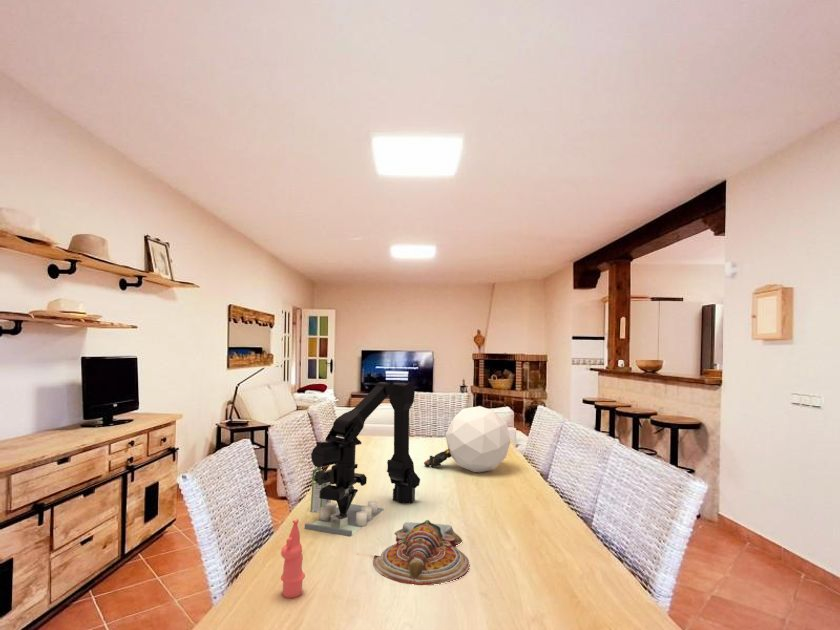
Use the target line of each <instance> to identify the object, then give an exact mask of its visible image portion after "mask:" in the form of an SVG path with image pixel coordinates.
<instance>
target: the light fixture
mask: <svg viewBox="0 0 840 630" xmlns="http://www.w3.org/2000/svg"><path fill="white" fill-rule="evenodd" d="M445 439H446V445H447V449H445V450H444V451H441V452H439V453H436V454H435V455H429V459H427V460H425V461H424V462H423V464H424V466H425V467H426V468H433V467H438V466H441V465H442V463H443V462H444V461H446V460H448V459H449V458H452V459H453V460H454V461H455V463H456V465H458V466H459V467H461V468H463V469H466V470H469V471H471V472H473V473H475V472H478V473H483V472H488V471H494V470H495V469H496V468H497V467H498V466H499V465H500V464H501V463H502V462H503V461H504V460H505V459H506V458H507V456H508V452H509V448H510V445H511V438H510V432H509V427H508V423H507V421H505V419H503V418H502V417H501V415H499V414H498V413H497V412H496V411H494V410H492V409H490V408H487V407H483V406H482V405H478V406H473V407H466V408H463V409H461V410H460V411H459V412H458V413H457V414H456V415H455V416H454V417H453V418H452V420H451V422H450V424H449V426H448V428H447V431H446V433H445Z"/></svg>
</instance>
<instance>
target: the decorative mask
mask: <svg viewBox="0 0 840 630" xmlns="http://www.w3.org/2000/svg"><path fill="white" fill-rule="evenodd" d="M393 535H395V536H396V537H395V541H396V543H394V544H392V545H390V546H388V547H386V548H385V549H384V550H382V552H381V554H380V555H374V557H373V558H372V566H373V569H374V570H375V571H376V573H378V574H379V575H380V576H382V577H384V578H386V579H389V580H391V581H394V582H397V583H401V584H404V585H412V584H414V586H423V585H427V586H435V585H434V584H439V585H442V584H441V583H445V582H450V581H453V580H456V579H458V580H460V579H461V578H460V577H462V576H464V575H465V574H466V573H467V572H468V573H469V571H470V568H471V564H469V563H470V560H469V558H468V557H467V556H466V555H465V553H464V552H462V551H461V550H460V549H458V548H457V547H455V546H456V545H458V544H460V543H461V542H462V541H463V540H462V538H461V537H460V535H458V534H457V533H456V532H455V531H454V530H453V526H452V525H451V524H443V523H442V524H441V523H433V522H431V521H430V520H429V519H426V520H424V521H423V522H412V521H411V522H409V521H408V522H404V523H403V524H402V528H401V529H399V530H397V531H395V532H394V534H393ZM462 543H463V542H462ZM469 567H470V568H469ZM468 570H469V571H468ZM468 573H467V574H468ZM467 574H466V575H467ZM466 575H465V576H466ZM465 576H464V577H465ZM459 578H460V579H459ZM462 578H463V577H462ZM456 581H457V580H456ZM453 582H454V581H453ZM450 583H451V582H450ZM445 584H446V583H445Z"/></svg>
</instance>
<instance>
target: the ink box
mask: <svg viewBox="0 0 840 630" xmlns="http://www.w3.org/2000/svg"><path fill="white" fill-rule="evenodd" d="M321 470H322V467H315V468H314V469H312V474H311V475H312V478H311V480H312V481H311V495H310V496H311V497H310V513H318V514H320V510H321V507H323V506H326V505H327V503H332V502H331V501H332V500H327V499H320V498H319V493H320V490H321V489H322V488H323V487H325V486H327V485H332V484H330V482H328V483H324V484H322V485H318V483H316V482H315V481H314V479H315V473H316V472H317V471H321Z"/></svg>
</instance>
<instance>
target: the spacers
mask: <svg viewBox="0 0 840 630" xmlns="http://www.w3.org/2000/svg"><path fill="white" fill-rule="evenodd" d="M363 506H364V507H362V508H361V511H359V512H357V513H356V526H360V527H362V526H363V527H365V526H367V524H368V523H367V521H369V520H370V521H371V520H372V519H371V515H374V514H377V508H378V501H377V500H369V501H367V505H363ZM337 507H338V504H337V502H331V503H327V505H326V506H323V507H321V510H320V513H319V515H320V517H319V519H320V520H322V521H328V520H330V519H331V515H332V514H336V509H337ZM370 521H369V522H370ZM363 527H362V528H363Z"/></svg>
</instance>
